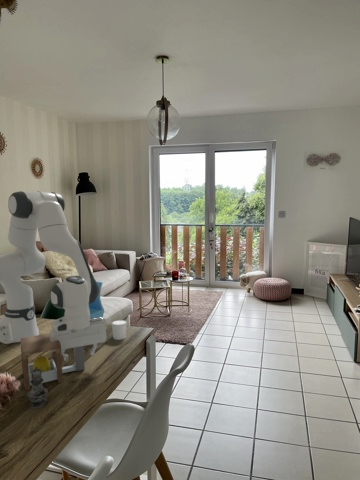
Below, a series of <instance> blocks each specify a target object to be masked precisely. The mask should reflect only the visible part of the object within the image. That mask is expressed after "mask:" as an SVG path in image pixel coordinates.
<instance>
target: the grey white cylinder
mask: <svg viewBox="0 0 360 480" xmlns="http://www.w3.org/2000/svg"><path fill="white" fill-rule="evenodd" d="M110 325H111V328H112V329H111V330H112V338H113V339H114V340H118V341H119V340H120V341H121V340H123V339H124V340H125V339H126V338H127V328H128V326H127V325H128V322H127V320H124V319H117V320H114V321H112V322H111V324H110Z"/></svg>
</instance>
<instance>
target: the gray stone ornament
mask: <svg viewBox="0 0 360 480" xmlns="http://www.w3.org/2000/svg"><path fill="white" fill-rule="evenodd" d="M30 375H32V380H31V383H32V385H31V389H30V390H29V391H28V392H27V394H26V395H27V397H28V400H29V401H30V402H29V404H28V406H29V408H30V409H40V408H43V407H44V406H46V405H47V403H48V399H46V398H47V394H48V392H49V390H48V388H46V387H44V386H43V383H42V381H43V379H42V373H41V370H40V369H37V367H35V369H34V370H33V371H32V372H31V374H30Z"/></svg>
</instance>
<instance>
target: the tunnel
mask: <svg viewBox="0 0 360 480" xmlns="http://www.w3.org/2000/svg"><path fill="white" fill-rule="evenodd" d="M49 336H50V332H49V333H45V334H44V333H43V334H39V335H37V336H31V337H25V338H20V341H21V342H20V353H21V355H20V357H21V368H22V376H23V378H24V381H23V382H24V390H25V391H28V390H29V391H30V390H31V385H30V381H29V365H28V364H29V357H28V356H29V355H34V354H38V353H39V354H40V353H43V352H49V351H50V352H52V353H51V355H52V360H53V359H54V362H55V365H56V368H57V378H58V379H57V383H59V384H60V383H63V382H64V380H63V379H64V377H63V376H64V375H63V373H62V367H63V361H62V358H63V355H62V354H61V344H60V342H59V340H57V341H54V342H51V341H50V339H49ZM51 350H56V351H54V352H53V351H51Z"/></svg>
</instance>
